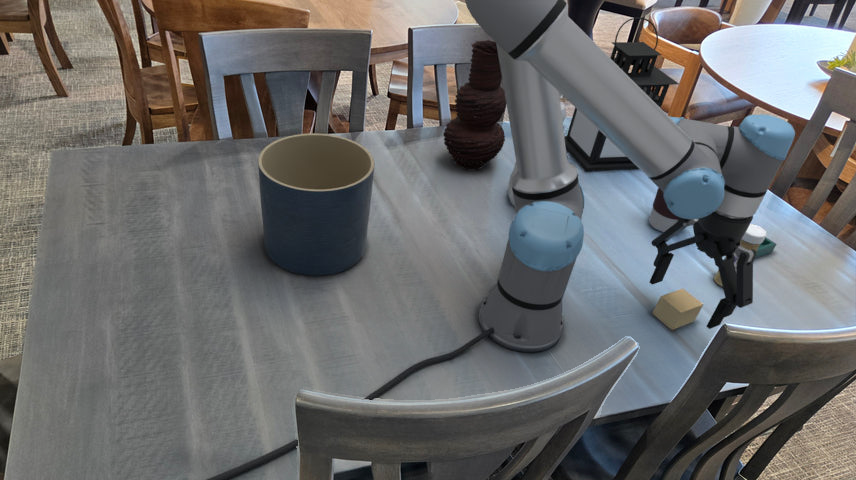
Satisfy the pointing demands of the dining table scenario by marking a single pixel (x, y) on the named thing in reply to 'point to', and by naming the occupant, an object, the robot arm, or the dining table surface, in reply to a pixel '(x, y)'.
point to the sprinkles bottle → (747, 244)
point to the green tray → (765, 247)
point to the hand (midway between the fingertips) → (683, 303)
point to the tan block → (677, 309)
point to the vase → (478, 111)
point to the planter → (315, 202)
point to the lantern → (590, 141)
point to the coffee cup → (661, 214)
